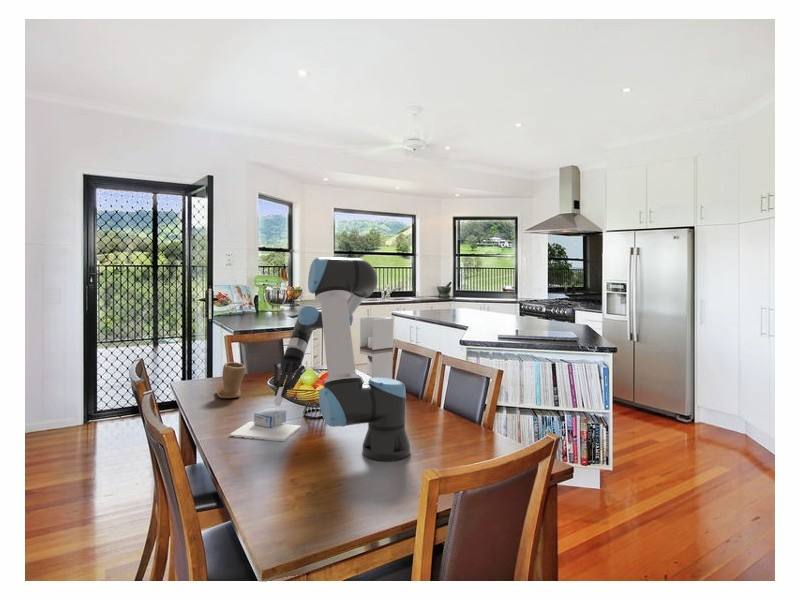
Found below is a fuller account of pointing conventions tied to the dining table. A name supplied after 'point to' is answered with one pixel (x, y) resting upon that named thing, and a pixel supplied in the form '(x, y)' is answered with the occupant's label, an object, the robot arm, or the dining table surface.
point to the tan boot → (231, 380)
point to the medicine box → (270, 417)
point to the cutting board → (266, 431)
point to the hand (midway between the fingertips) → (276, 404)
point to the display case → (377, 345)
